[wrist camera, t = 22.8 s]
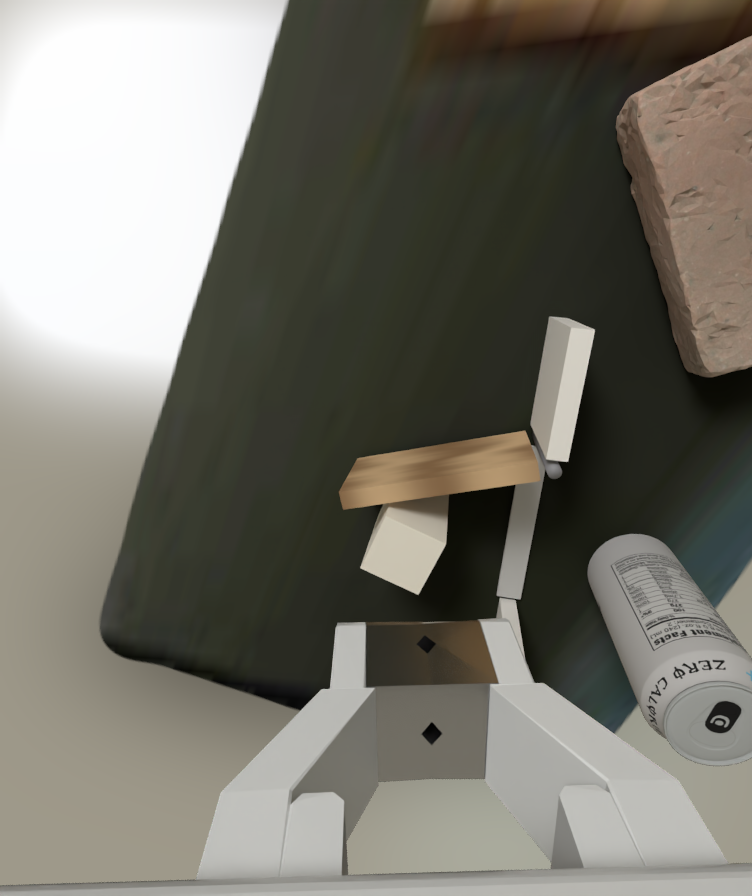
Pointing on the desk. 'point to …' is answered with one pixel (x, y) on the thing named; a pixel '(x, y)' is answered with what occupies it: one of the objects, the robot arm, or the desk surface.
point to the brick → (698, 202)
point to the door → (441, 470)
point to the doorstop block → (408, 541)
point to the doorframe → (544, 448)
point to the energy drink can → (675, 650)
